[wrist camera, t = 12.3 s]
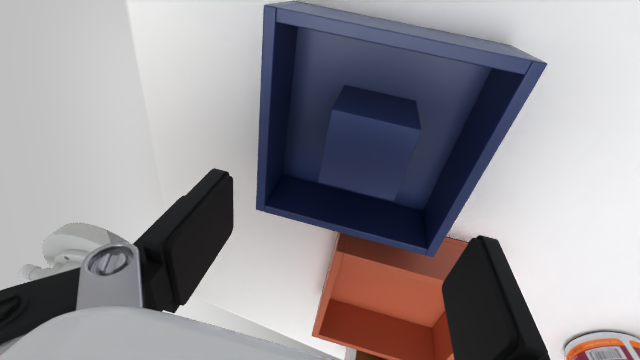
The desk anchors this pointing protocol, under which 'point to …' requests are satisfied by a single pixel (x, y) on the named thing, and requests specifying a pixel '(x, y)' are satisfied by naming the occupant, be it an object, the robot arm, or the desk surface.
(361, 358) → the block
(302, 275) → the desk surface
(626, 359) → the pill bottle
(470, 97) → the navy bin
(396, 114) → the navy block
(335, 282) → the terracotta bin
